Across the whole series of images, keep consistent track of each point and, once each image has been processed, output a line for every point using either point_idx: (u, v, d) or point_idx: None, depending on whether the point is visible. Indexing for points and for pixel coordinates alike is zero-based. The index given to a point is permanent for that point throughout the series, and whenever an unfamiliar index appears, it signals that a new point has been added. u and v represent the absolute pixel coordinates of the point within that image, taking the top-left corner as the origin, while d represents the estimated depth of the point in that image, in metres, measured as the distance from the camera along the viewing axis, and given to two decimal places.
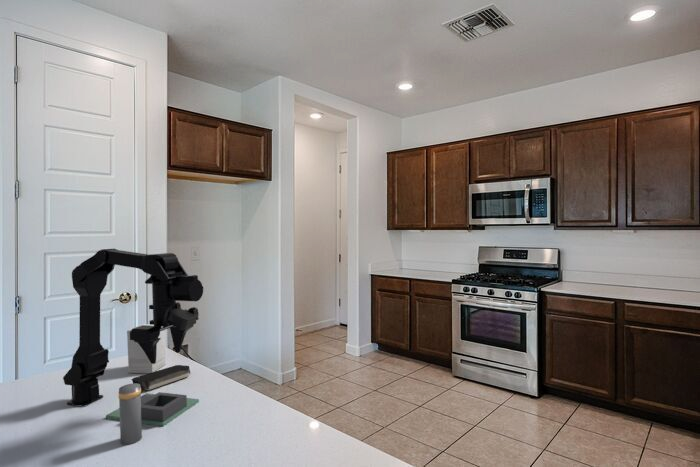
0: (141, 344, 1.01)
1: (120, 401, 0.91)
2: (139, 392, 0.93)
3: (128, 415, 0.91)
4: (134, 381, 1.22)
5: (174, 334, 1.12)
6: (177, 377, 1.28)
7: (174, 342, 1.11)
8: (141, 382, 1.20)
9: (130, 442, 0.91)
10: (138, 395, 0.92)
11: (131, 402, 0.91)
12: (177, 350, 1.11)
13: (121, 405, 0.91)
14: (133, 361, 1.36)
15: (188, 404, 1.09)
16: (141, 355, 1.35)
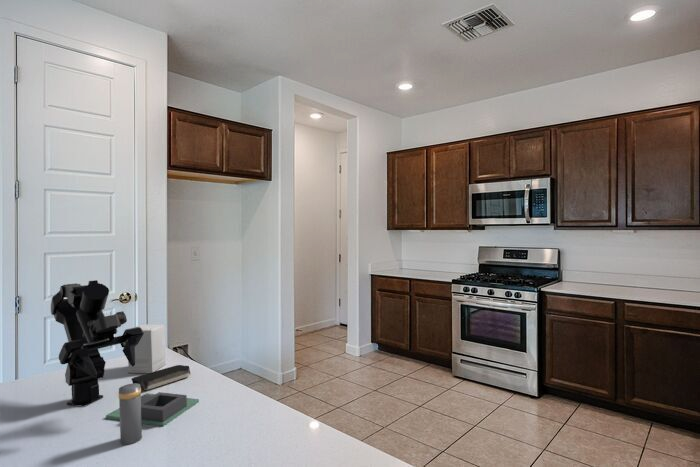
0: (77, 365, 0.98)
1: (120, 401, 0.91)
2: (139, 392, 0.93)
3: (128, 415, 0.91)
4: (133, 381, 1.22)
5: (126, 353, 1.07)
6: (176, 377, 1.27)
7: (128, 359, 1.06)
8: (140, 382, 1.20)
9: (130, 442, 0.91)
10: (138, 395, 0.92)
11: (131, 402, 0.91)
12: (132, 363, 1.04)
13: (121, 405, 0.91)
14: None
15: (188, 404, 1.09)
16: (141, 355, 1.35)
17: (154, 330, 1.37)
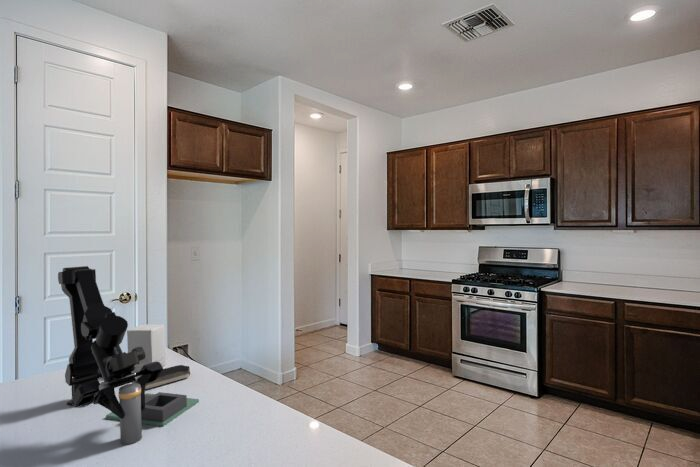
0: (103, 404, 0.92)
1: (120, 401, 0.91)
2: (139, 392, 0.93)
3: (128, 415, 0.91)
4: None
5: None
6: (175, 378, 1.27)
7: None
8: None
9: (130, 442, 0.91)
10: (138, 395, 0.92)
11: (131, 402, 0.91)
12: (142, 407, 0.94)
13: (121, 405, 0.91)
14: None
15: (188, 404, 1.09)
16: None
17: (154, 330, 1.37)
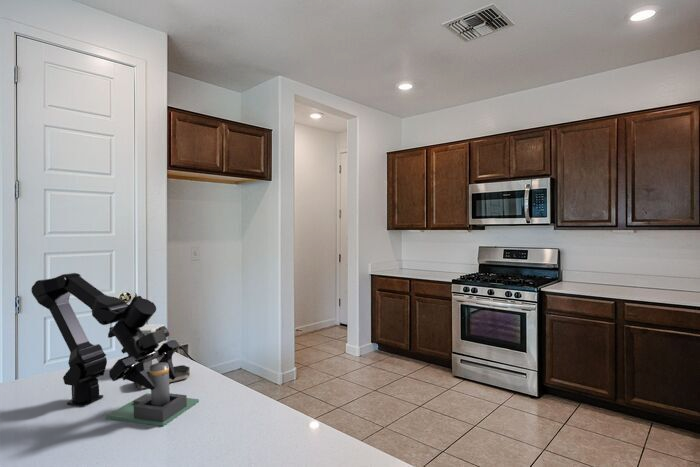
0: (132, 379, 1.01)
1: (153, 378, 1.03)
2: (168, 369, 1.05)
3: (161, 389, 1.03)
4: None
5: None
6: None
7: None
8: None
9: None
10: (168, 371, 1.05)
11: (163, 378, 1.03)
12: (172, 377, 1.08)
13: (154, 381, 1.03)
14: None
15: (188, 404, 1.09)
16: None
17: (154, 330, 1.37)
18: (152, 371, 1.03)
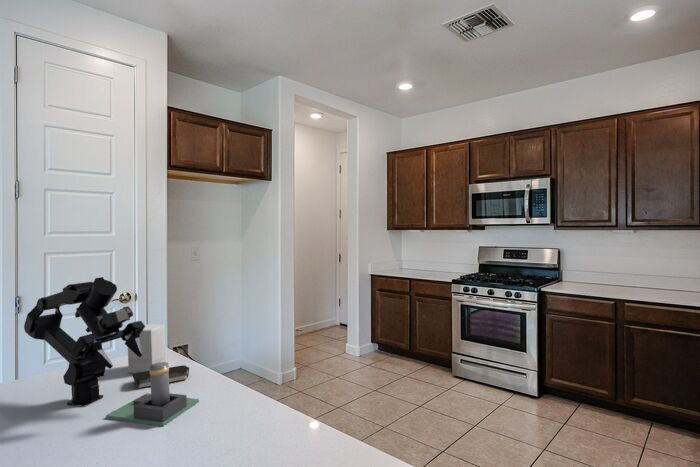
0: (90, 357, 1.03)
1: (153, 377, 1.03)
2: (168, 369, 1.06)
3: (161, 389, 1.03)
4: (133, 376, 1.26)
5: (130, 345, 1.14)
6: (171, 378, 1.26)
7: (134, 350, 1.13)
8: (134, 379, 1.23)
9: None
10: (168, 370, 1.05)
11: (163, 377, 1.04)
12: (139, 354, 1.12)
13: (154, 381, 1.03)
14: (133, 361, 1.36)
15: (188, 404, 1.09)
16: None
17: (154, 330, 1.37)
18: (152, 370, 1.03)
